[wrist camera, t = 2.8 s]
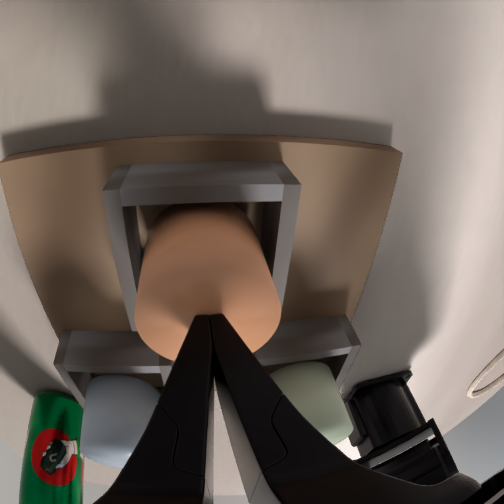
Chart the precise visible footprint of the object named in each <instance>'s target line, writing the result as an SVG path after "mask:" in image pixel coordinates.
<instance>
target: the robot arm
mask: <svg viewBox="0 0 504 504" xmlns="http://www.w3.org/2000/svg"><path fill="white" fill-rule="evenodd" d="M411 376H412V372H411V370H408V371H405V372H401V373H398V374H394V375H391V376H387V377H383V378H379V379H375V380H371V381H367V382H363V383H359V384H357V385H356V386H355V387H354V388H353V390H352V392H351V394H350V395H349V397H348V399H347V400H346V402H345V404H344V405H345V408H346V410H347V413H348V415H349V418H350V420H351V423H352V426H353V431H352V433H351V434H350V435H349V436H348V437H349V440H350V443H351V445H352V446H353V447H355V446H357V448H358V451H359V453H360V456H361V458H359V459H357V460H351V459H350V458H349V457H347V456H346V455H345V454H344V453H343V452H341V451H340V450H339V449H338V448H337V447H336V446H335V445H333V444H332V443H331V442H330V441H329V440H328V439H327V438H326V437H325V436H323V435H322V434H321V433H320V432H319V431H318V430H317V429H316V428H315V427H314V426H313V425H312V424H311V423H310V422H309V421H308V420H307V419H306V418H305V417H304V416H303V415H302V414H301V413H300V412H299V411H298V410H297V409H296V407H295V406H294V405H293V404H292V403H291V401H290V400H289V399H288V398H287V396H286V395H285V394H283V392H282V390H281V389H280V388H279V387H278V385H277V384H276V383H275V381H274V380H273V379H272V378H271V376H270V375H269V374H268V373H267V371H266V370H265V369H264V367H263V366H262V365H261V363H260V362H259V361H258V360H257V358H256V357H255V356H254V354H253V353H252V352H251V350H250V349H249V348H248V346H247V345H246V344H245V342H244V341H243V340H242V338H241V337H240V336H239V334H238V333H237V332H236V330H235V329H234V327H233V326H232V325H231V323H230V322H229V321H228V319H227V318H226V317H225V315H224V314H222V313H219V314H210V316H209V315H208V314H201V315H195V316H194V318H193V320H192V323H191V325H190V327H189V330H188V332H187V334H186V336H185V339H184V341H183V343H182V346H181V348H180V350H179V352H178V355H177V357H176V359H175V362H174V364H173V366H172V369H171V371H170V373H169V376H168V378H167V380H166V383H165V385H164V388H163V390H162V392H161V395H160V397H159V399H158V402H157V403H158V404H157V405H156V406H155V409H154V411H153V413H152V416H151V418H150V420H149V422H148V424H147V427H146V429H145V431H144V433H143V434H142V436H141V438H140V440H139V442H138V444H137V445H136V447H135V449H134V450H133V452H132V454H131V455H130V457H129V459H128V460H127V462H126V464H125V465H124V467H123V469H122V470H121V472H120V474H119V476H118V477H117V479H116V480H115V482H114V483H113V485H112V486H111V487H110V488H109V490H108V491H107V492H106V493H105V494H104V495H103V496H101V497H100V498H99V499H98V500H97V501H95V502H94V503H93V504H213V437H214V380H215V386H216V390H217V394H218V398H219V402H220V406H221V409H222V413H223V417H224V421H225V424H226V428H227V432H228V435H229V439H230V442H231V446H232V449H233V453H234V456H235V459H236V463H237V466H238V469H239V473H240V476H241V479H242V482H243V486H244V489H245V492H246V495H247V498H248V501H249V503H250V504H504V468H503V469H502V470H500V471H499V472H497V473H496V474H494V475H493V476H492V477H490V478H488V479H487V480H485V481H484V482H482V483H481V484H479V483H478V482H477V481H476V480H474V479H472V478H471V477H468V476H466V475H464V474H461V473H459V471H458V469H457V467H456V465H455V462H454V460H453V458H452V456H451V454H450V451H449V450H448V447H447V445H446V443H445V441H444V439H443V437H442V435H441V433H440V431H439V429H438V427H437V425H436V423H435V421H434V419H433V418H432V419H430V420H428V422H427V423H426V421H425V419H424V417H423V415H422V413H421V411H420V409H419V407H418V405H417V403H416V401H415V399H414V397H413V395H412V393H411V391H410V389H409V387H408V386H407V384H406V383H407V382H408V380H409V379H410V377H411ZM433 434H434V435H435V437H434V438H433V439H431V440H428V439H426V438H428V437H430V436H431V435H433ZM424 439H425V440H424ZM423 440H424V441H423ZM421 441H422V442H421ZM419 442H420V443H419ZM416 444H417V445H416ZM414 445H415V446H414ZM412 446H413V447H412ZM410 447H411V448H410ZM407 449H408V450H407ZM405 450H406V451H405ZM403 451H404V452H403ZM401 452H402V453H401ZM399 453H400V454H399ZM397 454H398V455H397ZM395 455H396V456H395ZM393 456H394V457H393ZM391 457H392V458H391ZM389 458H390V459H389ZM387 459H388V460H387ZM385 460H386V461H385ZM383 461H384V462H383ZM381 462H382V463H381ZM379 463H380V464H379ZM377 464H378V465H377ZM375 465H376V466H375ZM373 466H374V467H373ZM371 467H372V468H371Z"/></svg>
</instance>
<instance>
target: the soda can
mask: <svg viewBox="0 0 504 504" xmlns="http://www.w3.org/2000/svg"><path fill="white" fill-rule="evenodd" d="M83 412H84V409H83V408H82V406H81V405H80V404H79V402H78V401H77V400H76V399H74V398H72V397H71V396H68V395H66V394H63V393H60V392H56V391H44V392H41V393H39V394H38V395H36V396H35V397H34V401H33V405H32V410H31V415H30V420H29V425H28V431H27V436H26V442H25V449H24V456H23V464H22V472H21V481H20V494H19V504H83V478H84V458H85V456H84V455H83V454H82V453H81V452H80V439H81V429H82V420H83Z"/></svg>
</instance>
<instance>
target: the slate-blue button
mask: <svg viewBox="0 0 504 504" xmlns="http://www.w3.org/2000/svg"><path fill="white" fill-rule="evenodd" d="M160 395H161V394H160V392H159V391H158V390H157V389H156V388H155V387H154V386H153V385H151V384H150V383H148V382H146V381H144V380H141V379H138V378H135V377H131V376H127V375H120V374H107V375H100V376H97V377H95V378H93V379H91V380H90V381H89V383H88V385H87V390H86V397H85V404H84V412H83V420H82V429H81V439H80V452H81V453H82V454H83V455H84V456H85V457H87V458H89V459H90V460H92V461H95V462H97V463H100V464H103V465H107V466H111V467H116V468H122V469H123V467H124V465H125V464H126V462H127V460H128V459H129V457H130V455H131V454H132V452H133V450H134V449H135V447H136V445H137V444H138V442H139V440H140V438H141V436H142V434H143V433H144V431H145V429H146V427H147V424H148V422H149V420H150V418H151V416H152V413H153V411H154V409H155V406H156V405H157V404H158V403H157V402H158V399H159V397H160Z"/></svg>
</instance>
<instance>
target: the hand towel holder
mask: <svg viewBox="0 0 504 504" xmlns="http://www.w3.org/2000/svg"><path fill="white" fill-rule="evenodd" d="M503 357H504V350H503V351H502V352H501V353H499V354H498V355H497V356H496V357H495V358H494V359H493V360H492V361H491V362H490V363H489V364H488V365H487V366H486V367H485V368H484V369H483V371H482V372H481V373H480V374H479V375H478V376H477V377H476V379H475V380H474V381H473V382H472V384H471V385H470V387H469V389H468V391H467V396H469V397H471V398H475V397H478V396H480V395H482V394H484V393H486V392H488V391H489V390H491V389H492V388H494V387H495V386H496V385H498V384H499V383H500V382H501V381H503V380H504V374H503V375H502V376H501V377H499V378H498V379H497V380H496V381H494V382H493V383H491V384H490V385H488V386H487V387H485V388H483V389H482V390H480V391H477V392H473V390H474V388H475V387H476V386H477V384H478V383H479V382H480V381H481V379H482V378H483V377H484V376H485V375H486V374H487V373H488V372H489V371H490V370H491V369H492V368H493V367H494V366H495V365H496V364H497V363H498V362H499V361H500V360H501V359H502V358H503Z"/></svg>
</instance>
